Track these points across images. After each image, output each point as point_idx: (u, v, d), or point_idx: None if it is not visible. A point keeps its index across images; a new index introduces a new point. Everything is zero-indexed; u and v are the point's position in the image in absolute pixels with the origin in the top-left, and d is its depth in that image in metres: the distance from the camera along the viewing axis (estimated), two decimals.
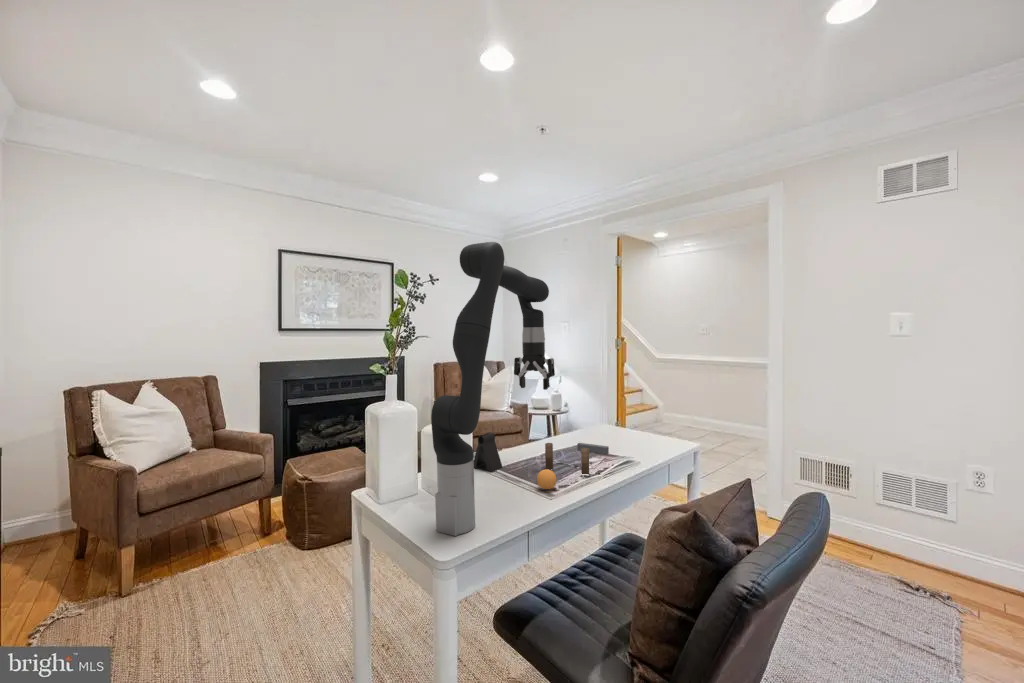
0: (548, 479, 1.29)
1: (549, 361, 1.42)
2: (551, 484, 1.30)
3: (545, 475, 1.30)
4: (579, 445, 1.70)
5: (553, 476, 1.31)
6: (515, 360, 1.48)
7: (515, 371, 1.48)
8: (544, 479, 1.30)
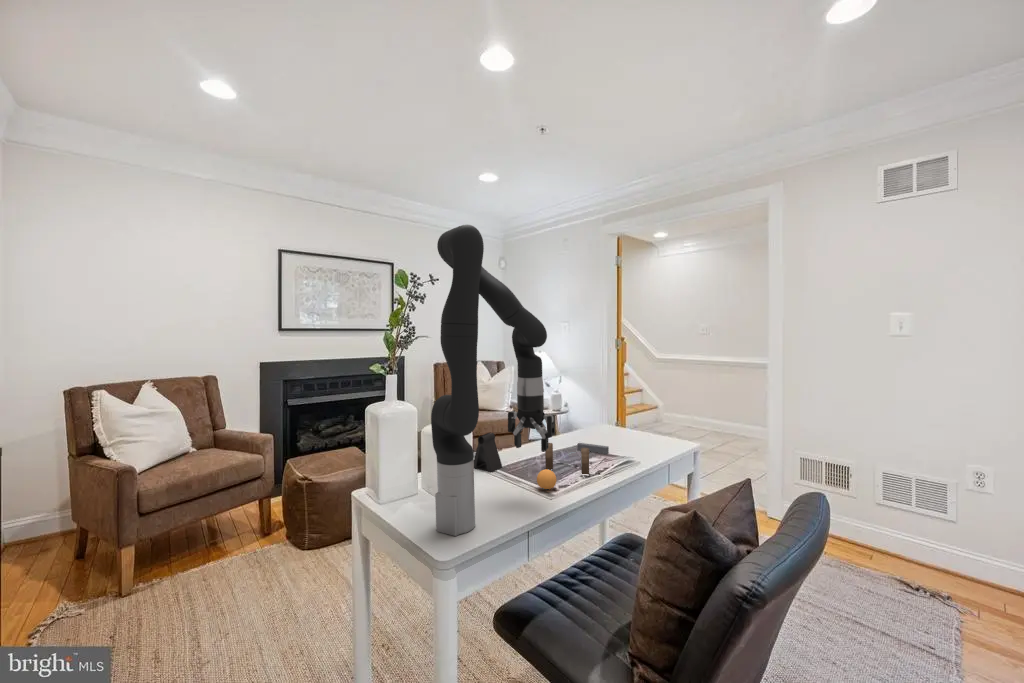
0: (548, 479, 1.29)
1: (549, 419, 1.19)
2: (551, 484, 1.30)
3: (545, 475, 1.30)
4: (579, 445, 1.70)
5: (553, 476, 1.31)
6: (509, 415, 1.25)
7: (509, 428, 1.25)
8: (544, 479, 1.30)
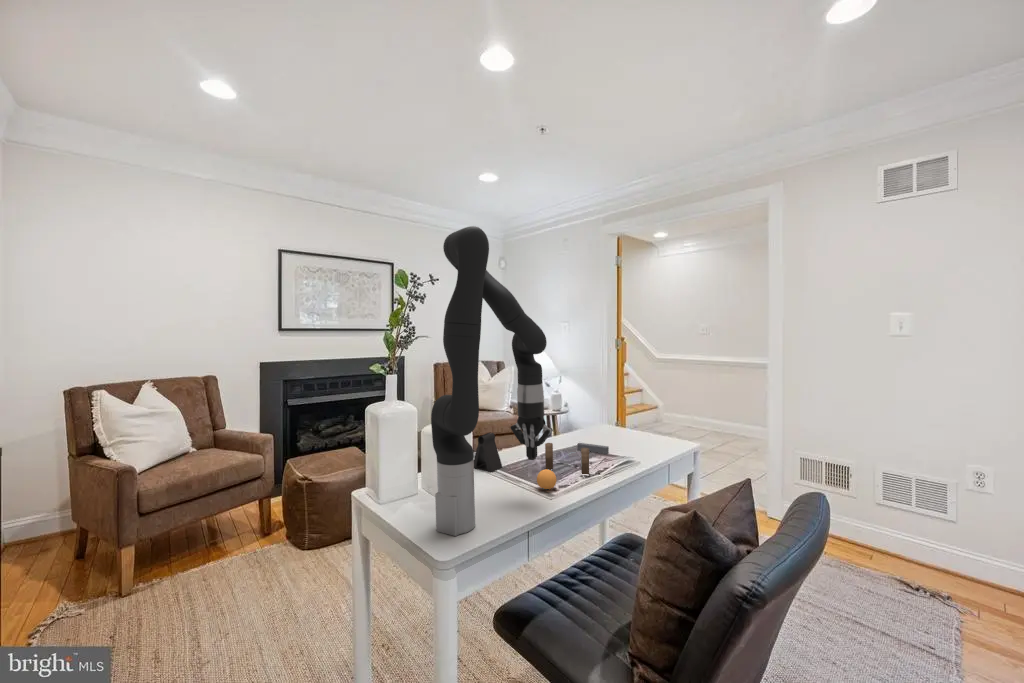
0: (548, 479, 1.29)
1: (546, 433, 1.19)
2: (551, 484, 1.30)
3: (545, 475, 1.30)
4: (579, 445, 1.70)
5: (553, 476, 1.31)
6: (512, 429, 1.25)
7: (520, 440, 1.24)
8: (544, 479, 1.30)
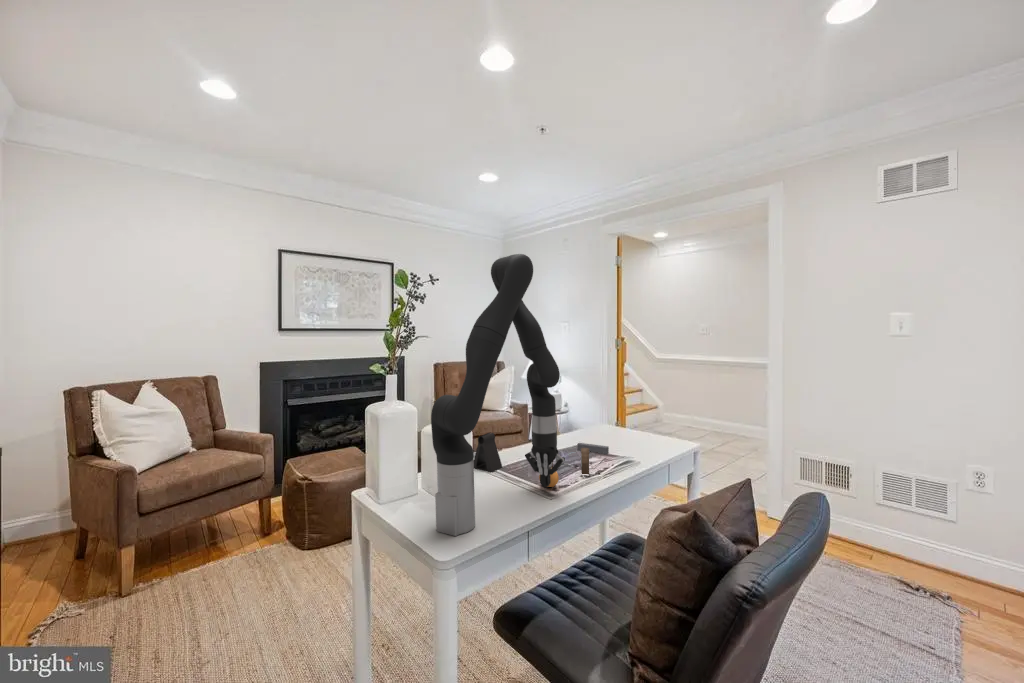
0: None
1: (559, 462, 1.26)
2: (553, 480, 1.31)
3: None
4: (579, 445, 1.70)
5: (556, 473, 1.32)
6: (526, 457, 1.31)
7: (534, 467, 1.30)
8: None
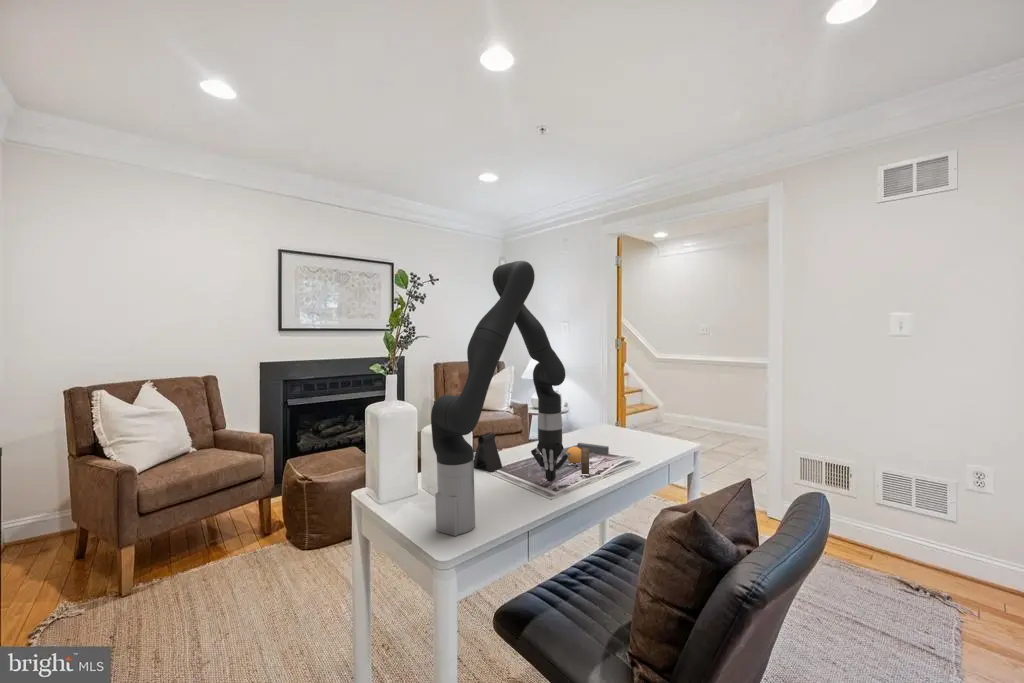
0: None
1: (565, 457, 1.31)
2: (580, 450, 1.54)
3: None
4: (579, 445, 1.70)
5: None
6: (532, 453, 1.36)
7: (540, 463, 1.35)
8: None
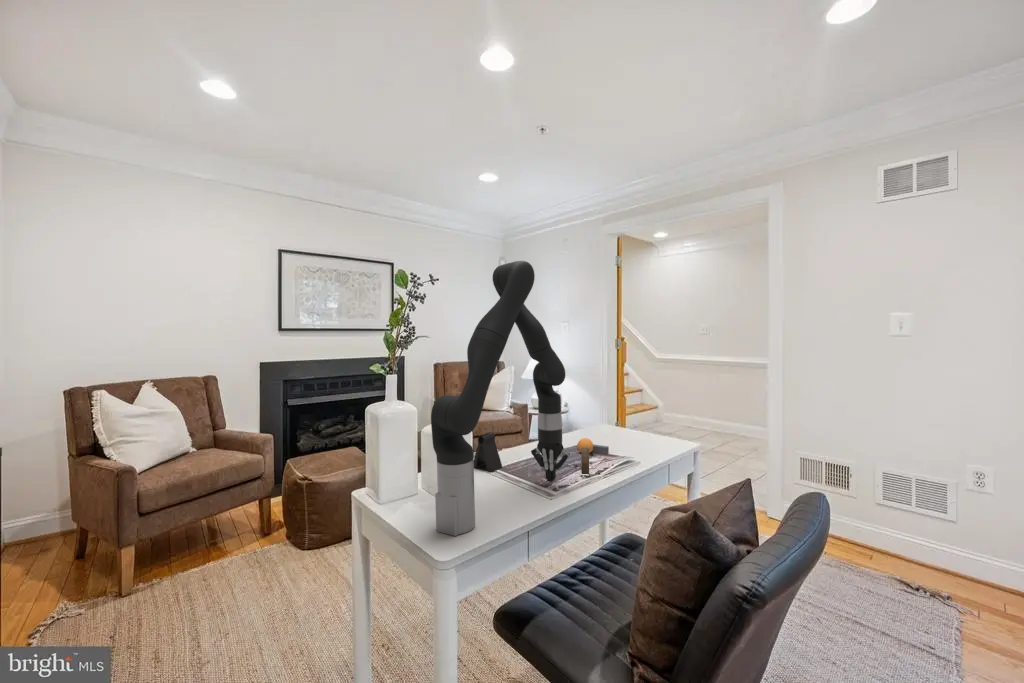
0: (587, 447, 1.63)
1: (565, 457, 1.31)
2: (590, 450, 1.64)
3: (584, 444, 1.63)
4: None
5: (590, 444, 1.64)
6: (532, 453, 1.36)
7: (540, 463, 1.35)
8: (583, 447, 1.63)
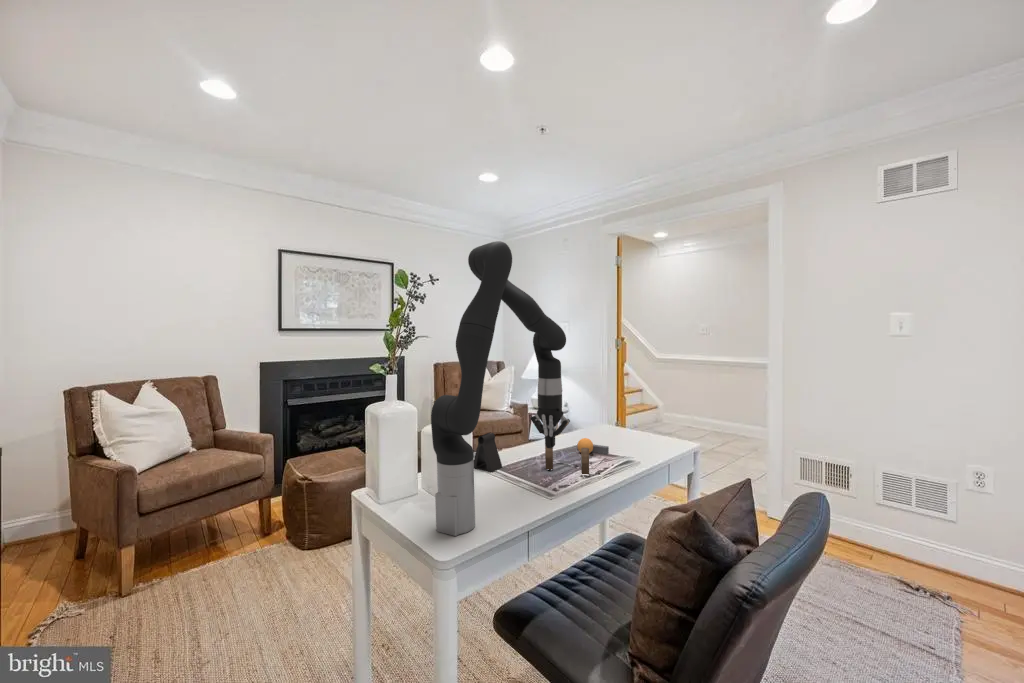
0: (587, 447, 1.63)
1: (564, 423, 1.30)
2: (590, 450, 1.64)
3: (584, 444, 1.63)
4: None
5: (590, 444, 1.64)
6: (532, 419, 1.35)
7: (539, 429, 1.34)
8: (583, 447, 1.63)
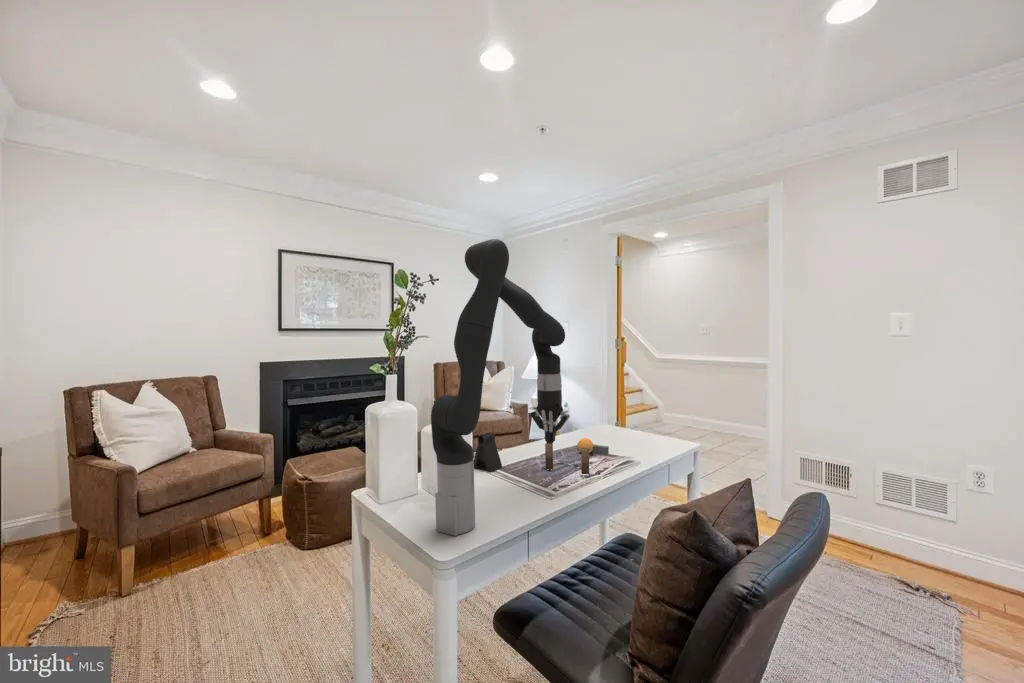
0: (587, 447, 1.63)
1: (564, 418, 1.30)
2: (590, 450, 1.64)
3: (584, 444, 1.63)
4: None
5: (590, 444, 1.64)
6: (532, 415, 1.36)
7: (539, 425, 1.34)
8: (583, 447, 1.63)
